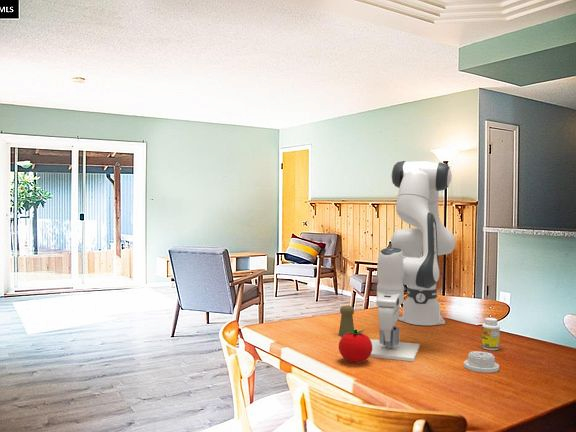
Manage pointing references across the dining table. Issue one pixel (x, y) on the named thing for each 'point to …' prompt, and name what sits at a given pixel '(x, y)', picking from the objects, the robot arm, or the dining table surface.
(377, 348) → the post block
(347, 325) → the olive pepper mill
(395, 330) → the ring
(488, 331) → the supplement bottle
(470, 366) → the mechanical component
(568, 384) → the dining table surface
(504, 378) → the dining table surface
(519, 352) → the dining table surface
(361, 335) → the tomato
